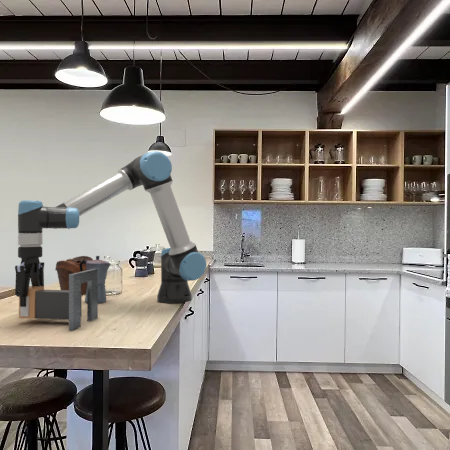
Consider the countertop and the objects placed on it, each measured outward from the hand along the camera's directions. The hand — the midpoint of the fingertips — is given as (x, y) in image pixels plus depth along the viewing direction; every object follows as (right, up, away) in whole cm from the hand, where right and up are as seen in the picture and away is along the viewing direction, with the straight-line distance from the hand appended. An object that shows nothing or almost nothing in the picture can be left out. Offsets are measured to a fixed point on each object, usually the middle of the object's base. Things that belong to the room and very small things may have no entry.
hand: (30, 313), depth 140 cm
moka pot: (+10, -3, +38) cm, 39 cm away
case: (-7, -3, +61) cm, 61 cm away
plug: (+7, -1, -1) cm, 7 cm away
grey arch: (+19, -3, -2) cm, 19 cm away
